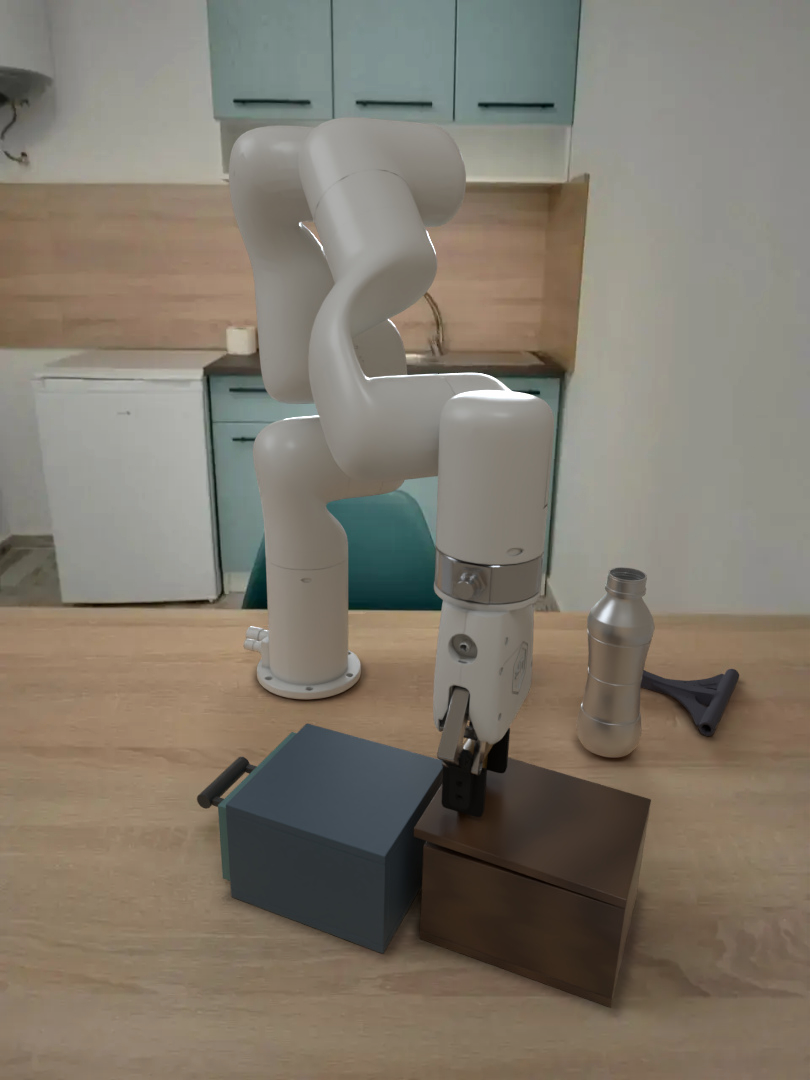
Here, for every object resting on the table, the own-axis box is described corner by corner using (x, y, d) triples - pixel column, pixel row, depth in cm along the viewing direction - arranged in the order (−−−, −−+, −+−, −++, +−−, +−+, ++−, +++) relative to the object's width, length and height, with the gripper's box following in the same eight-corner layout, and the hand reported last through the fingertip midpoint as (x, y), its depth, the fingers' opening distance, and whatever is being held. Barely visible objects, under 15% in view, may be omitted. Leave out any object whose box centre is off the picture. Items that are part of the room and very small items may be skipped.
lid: (413, 836, 61) (417, 768, 59) (465, 752, 71) (471, 691, 69) (625, 909, 55) (639, 837, 53) (649, 807, 65) (662, 743, 63)
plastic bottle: (640, 770, 84) (666, 590, 78) (572, 760, 86) (592, 583, 79) (636, 735, 90) (660, 565, 84) (573, 727, 92) (592, 558, 85)
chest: (419, 938, 64) (422, 846, 61) (469, 844, 74) (474, 760, 71) (610, 1007, 58) (625, 910, 55) (636, 895, 68) (649, 807, 65)
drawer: (180, 863, 69) (173, 790, 67) (255, 786, 79) (252, 720, 77) (359, 929, 63) (359, 852, 61) (416, 836, 73) (419, 767, 71)
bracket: (619, 651, 109) (621, 631, 108) (738, 682, 102) (741, 662, 101) (582, 700, 97) (584, 679, 96) (713, 739, 90) (716, 717, 89)
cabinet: (230, 897, 67) (225, 804, 64) (308, 805, 78) (306, 722, 75) (383, 954, 62) (385, 856, 59) (443, 848, 73) (447, 761, 70)
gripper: (504, 629, 49) (487, 874, 55) (568, 541, 64) (549, 743, 70) (389, 606, 52) (385, 842, 58) (476, 527, 67) (465, 722, 73)
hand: (475, 786), depth 64 cm, fingers closed on lid, 5 cm apart
